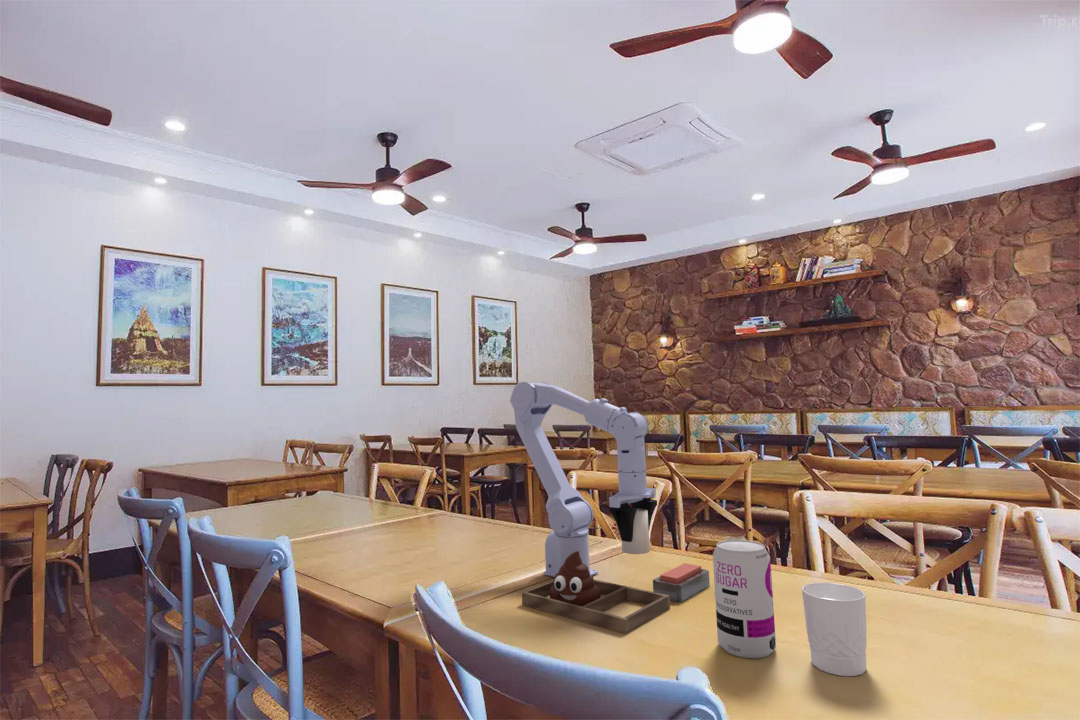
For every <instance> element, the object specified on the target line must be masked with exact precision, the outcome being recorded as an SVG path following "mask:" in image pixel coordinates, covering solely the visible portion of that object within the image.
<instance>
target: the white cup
mask: <svg viewBox="0 0 1080 720" xmlns="http://www.w3.org/2000/svg"><path fill="white" fill-rule="evenodd" d="M801 594H802V600H803V601H802V603H803V609H804V610H803V611H804V619H805V628H806V634H807V641H808V643H809V650H810V658H811V664H812V665H813V666H814V667H815V668H817V669H818V670H820V671H822V672H825V673H828V674H830V675H836V676H841V677H857V676H860V675H864V673H865V672H866V671H867V653H866V649H867V608H866V607H867V606H866V605H867V603H866V593H865V592H864V591H863V590H862V589H859V588H857V587H854V586H851V585H847V584H842V583H836V582H812V583H807V584H804V585H803V586H801Z"/></svg>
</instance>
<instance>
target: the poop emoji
mask: <svg viewBox="0 0 1080 720" xmlns="http://www.w3.org/2000/svg"><path fill="white" fill-rule="evenodd" d="M594 579H595V578H594V577H593V575H592V576H591V575H590V572H589V569H588V567H587V565H585V564H584V563H582V559H581V558H580V555H579V551H576V552H574V553H572V554H571V555H569V556H568V557H567V558H566V560H565V562H564V564H563V565H562V566H561V567H560V569H559V572H558V573H556V575H555V576H554V577H553V580H552V581H553V584H554V585H552V587H551V588H550V591H549V596H548V597H549V598H551V599H555V600H559V601H562V602H566V603H570V604H574V605H578V606H584V605H586V604H588V603H590V602H593V601H595V600H597V599H599V598H601V597H602V594H601V592H600V590H599V588H598V587H597V586H596V585H595V584H594Z"/></svg>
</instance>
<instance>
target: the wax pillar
mask: <svg viewBox="0 0 1080 720" xmlns="http://www.w3.org/2000/svg"><path fill="white" fill-rule="evenodd" d="M621 551H622V553H625V554H630V555H641V554H642V555H643V554H648V553H650V552H651V550H650V528H649V527H648V510H646V509H639V508H637V511H636V514H635V517H634V523H633V539H632V542H626V541H622V540H621Z"/></svg>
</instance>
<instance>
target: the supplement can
mask: <svg viewBox="0 0 1080 720" xmlns="http://www.w3.org/2000/svg"><path fill="white" fill-rule="evenodd" d="M712 564H713V579H714V580H713V581H714V597H715V600H714V601H715V613H716V614H715V615H716V630H717V631H716V633H717V643H718V644H719V646H720V647H721V648H722V649H723V650H724V651H725V652H726V653H728V654H730V655H733V656H735V657H738V658H745V659H763V658H766V657H769V656H771V654H772V653H773V652H774V651H775V650H776V649H777V642H776V641H777V640H776V624H775V609H774V595H773V579H772V566H771V565H772V564H771V556H770V554H769V552H768V551H767V549H766V545H765V544H763V543H761V542H758V541H751V540H747V541H745V540H727V541H724V540H721V541H719V542H717V543H716V547H715V548H714V551H713V553H712Z"/></svg>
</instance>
